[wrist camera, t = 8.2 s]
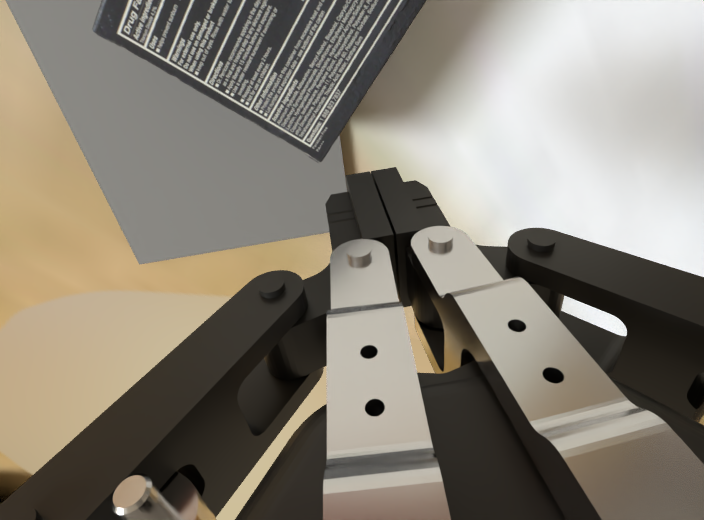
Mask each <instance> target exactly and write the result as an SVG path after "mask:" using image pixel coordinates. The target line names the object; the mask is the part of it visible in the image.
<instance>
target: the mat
mask: <svg viewBox="0 0 704 520" xmlns="http://www.w3.org/2000/svg"><path fill="white" fill-rule="evenodd" d="M101 1H102V0H6V2H7V4H8V6H9V8H10V10H11V12H12V14H13V16H14V18H15V20H16V22H17V24H18V26H19V28H20V30H21V32H22V34H23V36H24V38H25V40H26V42H27V44H28V46H29V47H30V49H31V51H32V53H33V55H34V57H35V59H36V61H37V63H38V65H39V67H40V69H41V71H42V73H43V75H44V77H45V79H46V81H47V83H48V85H49V87H50V89H51V91H52V93H53V95H54V97H55V99H56V101H57V103H58V105H59V107H60V109H61V111H62V113H63V115H64V117H65V119H66V121H67V122H68V124H69V126H70V128H71V130H72V132H73V134H74V136H75V138H76V140H77V142H78V144H79V146H80V148H81V150H82V152H83V154H84V156H85V158H86V160H87V162H88V164H89V166H90V168H91V170H92V172H93V174H94V176H95V178H96V180H97V182H98V184H99V186H100V188H101V190H102V192H103V194H104V196H105V197H106V199H107V201H108V203H109V205H110V207H111V209H112V211H113V213H114V215H115V217H116V219H117V221H118V223H119V225H120V227H121V229H122V231H123V233H124V235H125V237H126V239H127V241H128V243H129V245H130V247H131V249H132V251H133V253H134V255H135V257H136V259H137V261H138V263H139V264H145V263H151V262H157V261H163V260H169V259H174V258H180V257H186V256H192V255H198V254H204V253H210V252H216V251H222V250H228V249H234V248H239V247H245V246H251V245H257V244H263V243H269V242H275V241H281V240H287V239H293V238H298V237H304V236H310V235H316V234H322V233H328V232H329V225H328V219H327V212H326V206H325V204H326V202H327V200H328V199H329V197H330V195H331V194H337V193H343V192H347V187H346V179H345V172H344V164H343V157H342V149H341V142H340V135H339V136H338V138H337V139H336V141H335V142H334V144H333V145H332V147H331V148H330V150H329V152H328V153H327V155H326V156H325V158H324V159H323V161H322V162H320V163H317V162H316V161H314V160H313V159H311V158H309V157H308V156H307V155H306V154H305V153H303V152H302V151H301V150H299V149H297V148H295V147H294V146H292V145H290V144H288V143H287V142H286V141H284V140H282V139H280V138H278V137H276V136H274V135H272V134H270V133H269V132H267V131H266V130H264V129H262V128H261V127H259V126H258V125H256V124H254V123H252V122H251V121H249V120H247V119H245V118H243V117H242V116H240V115H238V114H237V113H235V112H233V111H231V110H229V109H227V108H226V107H224V106H222V105H221V104H219V103H217V102H216V101H214V100H212V99H210V98H208V97H207V96H205V95H203V94H201V93H200V92H198V91H196V90H195V89H193V88H191V87H190V86H188V85H186V84H184V83H183V82H181V81H180V80H179V79H177V78H176V77H173V76H171V75H169V74H168V73H166V72H164V71H162V70H161V69H159V68H158V67H156V66H154V65H152V64H151V63H149V62H147V61H146V60H143V59H141V58H139V57H137V56H136V55H134V54H133V53H131V52H129V51H128V50H126V49H125V48H123V47H119V46H117V45H115V44H113V43H111V42H109V41H107V40H105V39H104V38H102V37H100V36H98V35H96V34H95V33H94V32H93V29H92V28H93V25H94V22H95V18H96V15H97V12H98V10H99V7H100V4H101Z"/></svg>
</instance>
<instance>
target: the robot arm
mask: <svg viewBox="0 0 704 520" xmlns="http://www.w3.org/2000/svg"><path fill="white" fill-rule="evenodd" d="M346 185H347V192H343V193H337V194H331V195H330V197H329V199H328V200H327V202H326V204H325V206H326V212H327V219H328V225H329V232H330V239H331V245H332V254H331V257H330V264H329V265H328V266H327V267H326V268H325V269H324V270H323V271H321V272H320V273H318V274H316V275H314V276H312V277H310V278H307V279H305V280H302V279H301V277H300V276H299V275H297V274H296V273H293V272H290V271H284V270H278V271H271V272H267V273H264V274H262V275H259V276H257V277H256V278H254V279H253V280H251V281H250V282H249V283H248V284H247V285H245V286H244V287H243V288H242V289H241V290H240V291H239V292H238V293H236V294H235V295H234V296H233V297H232V298H231V299H230V300H229V301H228V302H226V303H225V304H224V305H223V306H222V307H221V308H220V309H219V310H217V311H216V312H215V313H214V314H213V315H212V316H211V317H210V318H208V320H206V321H205V322H204V323H203V324H202V325H201V326H200V327H198V328H197V329H196V330H195V331H194V332H193V333H192V334H191V335H190V336H188V337H187V338H186V339H185V340H184V341H183V342H182V343H180V344H179V346H177V347H176V348H175V349H174V350H173V351H172V352H170V353H169V354H168V355H167V356H166V357H165V358H164V359H163V360H161V361H160V362H159V363H158V364H157V365H156V366H155V367H154V368H152V369H151V370H150V371H149V372H148V373H147V374H146V375H145V376H144V377H142V378H141V379H140V380H139V381H138V382H137V383H136V384H135V385H133V386H132V387H131V388H130V389H129V390H128V391H127V392H126V393H125V394H123V395H122V396H121V397H120V398H119V399H118V400H117V401H116V402H114V403H113V404H112V405H111V406H110V407H109V408H108V409H107V410H105V411H104V412H103V413H102V414H101V415H100V416H99V417H98V418H96V419H95V420H94V421H93V422H92V423H91V424H90V425H89V426H88V427H86V428H85V429H84V430H83V431H82V432H81V433H80V434H79V435H77V436H76V437H75V438H74V439H73V440H72V441H71V442H70V443H69V444H67V445H66V446H65V447H64V448H63V449H62V450H61V451H60V452H58V453H57V454H56V455H55V456H54V457H53V458H52V459H51V460H49V462H47V463H46V464H45V465H44V466H43V467H42V468H41V469H39V470H38V471H37V472H36V473H35V474H34V475H33V476H32V477H30V478H29V479H28V480H27V481H26V482H25V483H24V484H23V485H21V486H20V487H19V488H18V489H17V490H16V491H15V492H14V493H13V494H11V495H10V496H9V497H8V498H7V499H6V500H5V501H4V502H2V503H1V504H0V520H216V516H217V515H218V514H219V512H220V511H221V509H222V508H223V507H224V506H225V504H226V503H227V502H228V500H229V499H230V498H231V496H232V495H233V494H234V492H235V491H236V490H237V488H238V487H239V486H240V485H241V483H242V482H243V481H244V479H245V478H246V476H247V475H248V474H249V473H250V471H251V470H252V469H253V467H254V466H255V465H256V463H257V462H258V461H259V459H260V458H261V457H262V455H263V454H264V453H265V451H266V450H267V449H268V447H269V446H270V445H271V443H272V442H273V441H274V439H275V438H276V437H277V435H278V434H279V433H280V431H281V430H282V429H283V427H284V426H285V425H286V423H287V422H288V421H289V420H290V418H291V417H292V415H293V414H294V413H295V412H296V410H297V409H298V407H299V406H300V405H301V404H302V402H303V401H304V399H305V398H306V397H307V396H308V394H309V393H310V392H311V390H312V389H313V388H314V386H315V385H316V384H317V382H318V381H319V380H320V378H321V376H322V373H323V367H325V366H327V404H326V405H324V406H322V407H321V408H320V409H318V410H317V411H316V412H314V413H313V414H312V415H311V416H310V417H308V418H307V419H306V420H305V421H304V422H303V423H302V424H301V426H300V427H299V428H298V429H297V430H296V431H295V432H294V434H293V435H292V437H291V438H290V439H289V441H288V442H287V444H286V446H285V447H284V448H283V450H282V451H281V453H280V454H279V456H278V457H277V459H276V460H275V462H274V463H273V464H272V466H271V467H270V469H269V470H268V472H267V473H266V475H265V476H264V478H263V479H262V481H261V482H260V484H259V485H258V487H257V488H256V490H255V491H254V493H253V494H252V495H251V497H250V498H249V500H248V501H247V503H246V504H245V506H244V507H243V509H242V510H241V512H240V513H239V515H238V516H237V518H236V519H235V520H704V277H701V276H698V275H694V274H691V273H688V272H685V271H682V270H678V269H675V268H672V267H669V266H666V265H663V264H659V263H656V262H653V261H650V260H647V259H643V258H640V257H637V256H634V255H631V254H628V253H624V252H621V251H618V250H615V249H612V248H608V247H605V246H602V245H599V244H596V243H593V242H589V241H586V240H583V239H580V238H577V237H573V236H570V235H567V234H564V233H561V232H558V231H554V230H550V229H545V228H528V229H523V230H520V231H517V232H515V233H514V234H512V235H511V236H510V238H509V240H508V247H494V246H480V245H475V244H474V242H473V241H472V240H471V238H470V237H469V236H468V235H467V234H466V233H465V232H463V231H462V230H460V229H457V228H454V227H450V225H449V223H448V222H447V220H446V218H445V216H444V215H443V213H442V211H441V210H440V208H439V206H438V205H437V203H436V201H435V200H434V198H433V197H432V195H431V193H430V191H429V189H428V188H427V187H426V186H424V185H423V184H421V183H419V182H417V181H416V180H415V181H409V182H403V180H402V178H401V176H400V174H399V172H398V170H397V169H396V167H394V168H388V169H382V170H376V171H371V173H370V172H364V173H358V174H352V175H346ZM564 295H565V296H567V297H570V298H572V299H575V300H577V301H580V302H582V303H585V304H587V305H590V306H592V307H595V308H597V309H600V310H602V311H605V312H607V313H610V314H612V315H614V316H616V317H617V318H619V319H620V320H621V321H622V322H623V323H624V325H625V326H626V328H627V336H620V335H617V334H614V333H612V332H610V331H607V330H605V329H603V328H600V327H598V326H596V325H593V324H591V323H588V322H586V321H584V320H581V319H579V318H577V317H574V316H572V315H570V314H567V313H565V312H563V311H561V308H562V304H563V299H564ZM398 299H399V300H398ZM407 306H412V308H413V311H414V321H415V329H416V332H417V334H418V336H419V338H420V341H421V343H422V345H423V347H424V350H425V352H426V354H427V356H428V358H429V361H430V363H431V365H432V367H433V369H434V372H435V373H417V370H416V366H415V361H414V356H413V351H412V347H411V342H410V337H409V332H408V328H407V323H406V318H405V314H404V309H403V307H407Z"/></svg>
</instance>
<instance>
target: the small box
mask: <svg viewBox="0 0 704 520" xmlns="http://www.w3.org/2000/svg"><path fill="white" fill-rule="evenodd" d="M425 2H426V0H102V1H101V4H100V7H99V10H98V12H97V15H96V18H95V22H94V25H93V28H92V29H93V32H94V33H95V34H96V35H98V36H100V37H102V38H104V39H105V40H107V41H109V42H111V43H113V44H115V45H117V46H119V47H123V48H125V49H126V50H128V51H129V52H131V53H133V54H134V55H136V56H137V57H139V58H141V59H143V60H146V61H147V62H149V63H151V64H152V65H154V66H156V67H158V68H159V69H161V70H162V71H164V72H166V73H168V74H169V75H171V76H173V77H176V78H177V79H179V80H180V81H181V82H183V83H184V84H186V85H188V86H190V87H191V88H193V89H195V90H196V91H198V92H200V93H201V94H203V95H205V96H207V97H208V98H210V99H212V100H214V101H216V102H217V103H219V104H221V105H222V106H224V107H226V108H227V109H229V110H231V111H233V112H235V113H237V114H238V115H240V116H242V117H243V118H245V119H247V120H249V121H251V122H252V123H254V124H256V125H258V126H259V127H261V128H262V129H264V130H266V131H267V132H269V133H270V134H272V135H274V136H276V137H278V138H280V139H282V140H284V141H286V142H287V143H288V144H290V145H292V146H294V147H295V148H297V149H299V150H301V151H302V152H303V153H305V154H306V155H307V156H308V157H309V158H311V159H313V160H314V161H316V162H317V163H320V162H322V161H323V159H324V158H325V156H326V155H327V153H328V152H329V150H330V148H331V147H332V145H333V144H334V142H335V141H336V139H337V138H338V136H339V135H340V133H341V131H342V130H343V128H344V127H345V125H346V124H347V122H348V121H349V119H350V117H351V116H352V114H353V113H354V111H355V110H356V108H357V107H358V105H359V103H360V102H361V100H362V99H363V97H364V96H365V94H366V93H367V91H368V89H369V87H370V86H371V85H372V83H373V82H374V80H375V79H376V77H377V76H378V74H379V73H380V71H381V69H382V68H383V66H384V65H385V63H386V62H387V60H388V59H389V57H390V55H391V54H392V53H393V51H394V49H395V48H396V46H397V45H398V43H399V42H400V40H401V39H402V37H403V36H404V34H405V32H406V31H407V29H408V28H409V26H410V25H411V23H412V21H413V20H414V18H415V17H416V15H417V14H418V12H419V11H420V9H421V8H422V6H423V5H424V3H425Z"/></svg>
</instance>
